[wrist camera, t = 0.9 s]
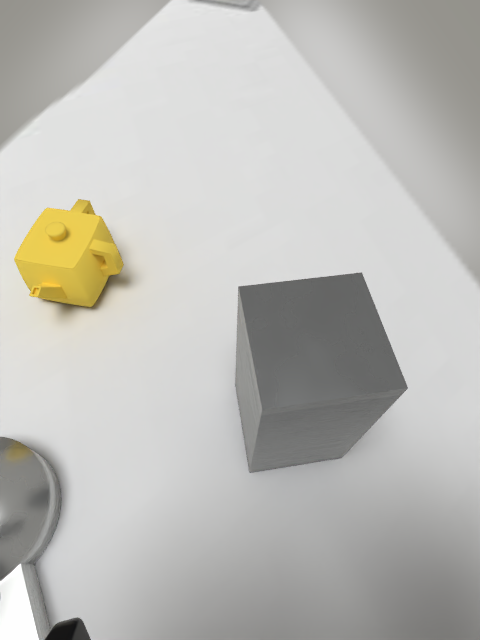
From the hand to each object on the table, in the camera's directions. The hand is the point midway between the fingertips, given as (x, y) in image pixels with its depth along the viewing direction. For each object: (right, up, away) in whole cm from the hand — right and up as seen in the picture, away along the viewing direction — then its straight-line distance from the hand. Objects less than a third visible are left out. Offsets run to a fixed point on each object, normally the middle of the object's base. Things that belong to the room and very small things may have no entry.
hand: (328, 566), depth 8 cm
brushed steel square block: (+1, -1, +16) cm, 16 cm away
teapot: (-12, +7, +22) cm, 26 cm away
